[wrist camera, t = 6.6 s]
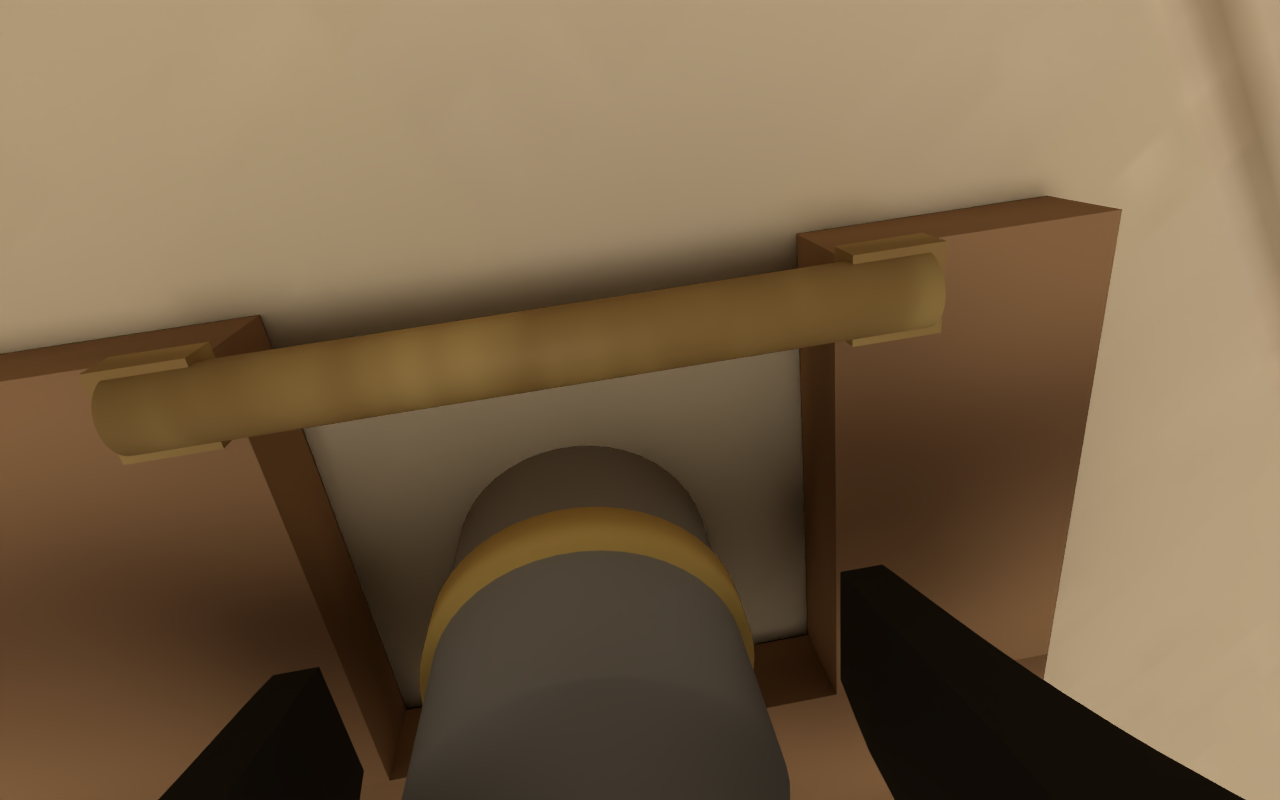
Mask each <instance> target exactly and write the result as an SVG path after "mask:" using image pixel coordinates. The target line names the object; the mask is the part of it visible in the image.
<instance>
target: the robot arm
mask: <svg viewBox="0 0 1280 800" xmlns="http://www.w3.org/2000/svg"><path fill="white" fill-rule="evenodd" d="M840 680H841V682H842V685H843V687H844V690H845V693H846V695H847V698H848V700H849V703H850V705H851V708H852V711H853V713H854V716H855V718H856V721H857V723H858V726H859V728H860V730H861V733H862V735H863V738H864V740H865V742H866V745H867V747H868V750H869V752H870V754H871V756H872V758H873V760H874V762H875V764H876V765H877V767H878V769H879V771H880V773H881V775H882V777H883V779H884V781H885V783H886V784H887V786H888V788H889V790H890V792H891V794H892V796H893V798H894V800H1245V799H1243V798H1241V797H1239V796H1238V795H1236V794H1234V793H1232V792H1230V791H1228V790H1227V789H1225V788H1223V787H1221V786H1219V785H1218V784H1216V783H1214V782H1212V781H1210V780H1209V779H1207V778H1205V777H1203V776H1201V775H1200V774H1198V773H1196V772H1194V771H1193V770H1191V769H1189V768H1187V767H1185V766H1184V765H1182V764H1180V763H1178V762H1176V761H1175V760H1173V759H1171V758H1169V757H1167V756H1166V755H1164V754H1162V753H1160V752H1158V751H1157V750H1155V749H1153V748H1152V747H1150V746H1148V745H1147V744H1145V743H1143V742H1142V741H1140V740H1138V739H1136V738H1135V737H1133V736H1131V735H1130V734H1128V733H1126V732H1125V731H1123V730H1121V729H1120V728H1118V727H1116V726H1115V725H1113V724H1112V723H1110V722H1109V721H1107V720H1105V719H1104V718H1102V717H1101V716H1099V715H1097V714H1096V713H1094V712H1093V711H1091V710H1089V709H1088V708H1086V707H1085V706H1083V705H1082V704H1080V703H1078V702H1077V701H1075V700H1074V699H1072V698H1070V697H1069V696H1067V695H1066V694H1064V693H1062V692H1061V691H1059V690H1058V689H1056V688H1055V687H1053V686H1052V685H1050V684H1049V683H1047V682H1046V681H1044V680H1043V679H1041V678H1040V677H1038V676H1037V675H1035V674H1034V673H1032V672H1031V671H1029V670H1028V669H1026V668H1025V667H1024V666H1022V665H1021V664H1019V663H1018V662H1016V661H1015V660H1013V659H1012V658H1011V657H1009V656H1008V655H1006V654H1005V653H1003V652H1002V651H1001V650H999V649H998V648H996V647H995V646H993V645H992V644H990V643H989V642H988V641H986V640H985V639H983V638H982V637H981V636H979V635H978V634H976V633H975V632H974V631H972V630H971V629H970V628H968V627H967V626H965V625H964V624H963V623H961V622H960V621H959V620H957V619H956V618H954V617H953V616H952V615H950V614H949V613H948V612H946V611H945V610H944V609H942V608H941V607H940V606H938V605H937V604H935V603H934V602H933V601H931V600H930V599H929V598H927V597H926V596H925V595H923V594H922V593H921V592H919V591H918V590H917V589H915V588H914V587H913V586H911V585H910V584H909V583H907V582H906V581H904V580H903V579H902V578H900V577H899V576H898V575H896V574H895V573H894V572H892V571H891V570H890V569H888V568H887V567H885V566H884V565H883V564H881V565H876V566H870V567H865V568H859V569H854V570H848V571H843V572H840ZM363 775H364V770H363V767H362V765H361V763H360V760H359V758H358V756H357V753H356V751H355V749H354V746H353V744H352V742H351V740H350V737H349V735H348V733H347V730H346V728H345V726H344V723H343V721H342V719H341V716H340V714H339V712H338V709H337V707H336V705H335V702H334V700H333V698H332V695H331V693H330V691H329V688H328V686H327V684H326V682H325V679H324V677H323V675H322V672H321V670H320V668H319V667H315V668H310V669H304V670H299V671H293V672H288V673H282V674H277V675H273V676H272V677H271V678H270V679H269V680H268V681H267V682H266V683H265V684H264V685H263V686H262V687H261V688H260V689H259V690H258V691H257V692H256V693H255V694H254V695H253V696H252V698H251V699H250V700H249V701H248V702H247V703H246V704H245V705H244V706H243V707H242V708H241V709H240V711H239V712H238V713H237V714H236V715H235V716H234V717H233V718H232V719H231V720H230V722H229V723H228V724H227V725H226V726H225V727H224V728H223V729H222V730H221V731H220V733H219V734H218V735H217V736H216V737H215V738H214V739H213V740H212V741H211V743H210V744H209V745H208V746H207V747H206V748H205V749H204V750H203V751H202V752H201V754H200V755H199V756H198V757H197V758H196V759H195V760H194V761H193V762H192V763H191V765H190V766H189V767H188V768H187V769H186V770H185V771H184V772H183V773H182V774H181V775H180V777H179V778H178V779H177V780H176V781H175V782H174V783H173V784H172V785H171V786H170V787H169V788H168V790H167V791H166V792H165V793H164V794H163V795H162V796H161V797H160V798H159V799H158V800H360V795H361V788H362V781H363Z"/></svg>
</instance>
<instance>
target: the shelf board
mask: <svg viewBox="0 0 1280 800" xmlns="http://www.w3.org/2000/svg"><path fill="white" fill-rule="evenodd" d="M1121 212H1122V210H1121V209H1116V208H1110V207H1105V206H1099V205H1094V204H1088V203H1083V202H1078V201H1072V200H1067V199H1061V198H1056V197H1050V196H1044V197H1038V198H1031V199H1024V200H1018V201H1011V202H1004V203H998V204H991V205H985V206H978V207H971V208H965V209H958V210H952V211H945V212H938V213H932V214H925V215H918V216H912V217H905V218H899V219H892V220H885V221H879V222H872V223H866V224H859V225H852V226H846V227H839V228H832V229H826V230H819V231H813V232H806V233H799V234H797V261H798V268H797V269H790V270H784V271H777V272H771V273H764V274H758V275H751V276H745V277H738V278H732V279H725V280H719V281H712V282H706V283H699V284H693V285H686V286H680V287H674V288H667V289H661V290H654V291H648V292H641V293H635V294H628V295H622V296H615V297H609V298H602V299H596V300H589V301H583V302H576V303H570V304H563V305H557V306H550V307H544V308H537V309H531V310H524V311H518V312H511V313H505V314H498V315H492V316H486V317H479V318H473V319H466V320H460V321H453V322H447V323H440V324H434V325H427V326H421V327H414V328H408V329H401V330H395V331H388V332H382V333H375V334H369V335H362V336H356V337H349V338H343V339H336V340H330V341H323V342H317V343H310V344H304V345H298V346H291V347H285V348H278V349H272V348H271V345H270V342H269V339H268V337H267V334H266V331H265V329H264V326H263V323H262V321H261V318H260V315H257V316H250V317H244V318H237V319H231V320H224V321H217V322H211V323H204V324H197V325H191V326H184V327H178V328H171V329H164V330H158V331H151V332H145V333H138V334H131V335H125V336H118V337H111V338H105V339H98V340H92V341H85V342H78V343H72V344H65V345H59V346H52V347H45V348H39V349H32V350H26V351H19V352H12V353H6V354H0V800H158V799H159V798H160V797H161V796H162V795H163V794H164V793H165V792H166V791H167V790H168V788H169V787H170V786H171V785H172V784H173V783H174V782H175V781H176V780H177V779H178V778H179V777H180V775H181V774H182V773H183V772H184V771H185V770H186V769H187V768H188V767H189V766H190V765H191V763H192V762H193V761H194V760H195V759H196V758H197V757H198V756H199V755H200V754H201V752H202V751H203V750H204V749H205V748H206V747H207V746H208V745H209V744H210V743H211V741H212V740H213V739H214V738H215V737H216V736H217V735H218V734H219V733H220V731H221V730H222V729H223V728H224V727H225V726H226V725H227V724H228V723H229V722H230V720H231V719H232V718H233V717H234V716H235V715H236V714H237V713H238V712H239V711H240V709H241V708H242V707H243V706H244V705H245V704H246V703H247V702H248V701H249V700H250V699H251V698H252V696H253V695H254V694H255V693H256V692H257V691H258V690H259V689H260V688H261V687H262V686H263V685H264V684H265V683H266V682H267V681H268V680H269V679H270V678H271V677H272V676H273V675H277V674H282V673H288V672H293V671H299V670H304V669H310V668H315V667H319V668H320V670H321V672H322V675H323V677H324V679H325V682H326V684H327V686H328V688H329V691H330V693H331V695H332V698H333V700H334V702H335V705H336V707H337V709H338V712H339V714H340V716H341V719H342V721H343V723H344V726H345V728H346V730H347V733H348V735H349V737H350V740H351V742H352V744H353V746H354V749H355V751H356V753H357V756H358V758H359V760H360V763H361V765H362V767H363V770H364V775H363V781H362V788H361V795H360V800H402V795H403V791H404V787H405V782H406V778H407V773H408V769H409V764H410V760H411V755H412V751H413V746H414V742H415V737H416V733H417V728H418V724H419V719H420V715H421V710H422V707H420V708H415V709H409V710H406V707H405V705H404V702H403V699H402V697H401V694H400V691H399V689H398V686H397V683H396V681H395V678H394V675H393V672H392V670H391V667H390V664H389V662H388V659H387V656H386V654H385V651H384V648H383V646H382V643H381V640H380V638H379V635H378V632H377V629H376V627H375V624H374V621H373V619H372V616H371V613H370V611H369V608H368V605H367V603H366V600H365V597H364V595H363V592H362V589H361V587H360V584H359V581H358V578H357V576H356V573H355V570H354V568H353V565H352V562H351V560H350V557H349V554H348V552H347V549H346V546H345V544H344V541H343V538H342V535H341V533H340V530H339V527H338V525H337V522H336V519H335V517H334V514H333V511H332V509H331V506H330V503H329V501H328V498H327V495H326V493H325V490H324V487H323V484H322V482H321V479H320V476H319V474H318V471H317V468H316V466H315V463H314V460H313V458H312V455H311V452H310V450H309V447H308V444H307V442H306V439H305V436H304V433H303V431H302V428H308V427H315V426H321V425H327V424H333V423H339V422H346V421H352V420H358V419H364V418H370V417H377V416H383V415H389V414H395V413H401V412H408V411H414V410H420V409H426V408H432V407H439V406H445V405H451V404H457V403H463V402H470V401H476V400H482V399H488V398H494V397H501V396H507V395H513V394H519V393H525V392H532V391H538V390H544V389H550V388H556V387H563V386H569V385H575V384H581V383H587V382H594V381H600V380H606V379H612V378H618V377H625V376H631V375H637V374H643V373H649V372H655V371H662V370H668V369H674V368H680V367H686V366H693V365H699V364H705V363H711V362H717V361H724V360H730V359H736V358H742V357H748V356H755V355H761V354H767V353H773V352H779V351H786V350H792V349H798V348H800V368H801V404H802V440H803V476H804V512H805V548H806V584H807V620H808V635H805V636H800V637H795V638H789V639H784V640H779V641H773V642H768V643H762V644H757V645H754V668H753V671H754V673H755V676H756V679H757V682H758V685H759V688H760V691H761V694H762V696H763V699H764V702H765V705H766V708H767V711H768V714H769V717H770V719H771V722H772V725H773V728H774V731H775V734H776V737H777V740H778V743H779V745H780V748H781V751H782V754H783V757H784V760H785V763H786V766H787V770H788V775H789V779H790V800H894V798H893V796H892V794H891V792H890V790H889V788H888V786H887V784H886V783H885V781H884V779H883V777H882V775H881V773H880V771H879V769H878V767H877V765H876V764H875V762H874V760H873V758H872V756H871V754H870V752H869V750H868V747H867V745H866V742H865V740H864V738H863V735H862V733H861V730H860V728H859V726H858V723H857V721H856V718H855V716H854V713H853V711H852V708H851V705H850V703H849V700H848V698H847V695H846V693H845V690H844V687H843V685H842V682H841V680H840V572H843V571H848V570H854V569H859V568H865V567H870V566H876V565H881V564H883V565H884V566H885V567H887V568H888V569H890V570H891V571H892V572H894V573H895V574H896V575H898V576H899V577H900V578H902V579H903V580H904V581H906V582H907V583H909V584H910V585H911V586H913V587H914V588H915V589H917V590H918V591H919V592H921V593H922V594H923V595H925V596H926V597H927V598H929V599H930V600H931V601H933V602H934V603H935V604H937V605H938V606H940V607H941V608H942V609H944V610H945V611H946V612H948V613H949V614H950V615H952V616H953V617H954V618H956V619H957V620H959V621H960V622H961V623H963V624H964V625H965V626H967V627H968V628H970V629H971V630H972V631H974V632H975V633H976V634H978V635H979V636H981V637H982V638H983V639H985V640H986V641H988V642H989V643H990V644H992V645H993V646H995V647H996V648H998V649H999V650H1001V651H1002V652H1003V653H1005V654H1006V655H1008V656H1009V657H1011V658H1012V659H1013V660H1015V661H1016V662H1018V663H1019V664H1021V665H1022V666H1024V667H1025V668H1026V669H1028V670H1029V671H1031V672H1032V673H1034V674H1035V675H1037V676H1038V677H1040V678H1041V679H1044V673H1045V667H1046V661H1047V655H1048V649H1049V643H1050V637H1051V631H1052V625H1053V619H1054V613H1055V607H1056V601H1057V595H1058V589H1059V583H1060V577H1061V571H1062V565H1063V559H1064V553H1065V547H1066V541H1067V535H1068V529H1069V523H1070V517H1071V511H1072V505H1073V499H1074V493H1075V487H1076V481H1077V476H1078V470H1079V464H1080V458H1081V452H1082V446H1083V440H1084V434H1085V428H1086V422H1087V416H1088V410H1089V404H1090V398H1091V392H1092V386H1093V380H1094V374H1095V368H1096V362H1097V356H1098V350H1099V344H1100V338H1101V332H1102V326H1103V320H1104V314H1105V308H1106V302H1107V296H1108V290H1109V284H1110V278H1111V272H1112V266H1113V260H1114V254H1115V248H1116V242H1117V236H1118V230H1119V224H1120V218H1121Z"/></svg>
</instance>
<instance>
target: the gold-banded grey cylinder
mask: <svg viewBox="0 0 1280 800" xmlns="http://www.w3.org/2000/svg"><path fill="white" fill-rule="evenodd" d="M753 668H754V643H753V639H752V634H751V630H750V627H749V624H748V621H747V618H746V616H745V613H744V610H743V608H742V605H741V602H740V599H739V597H738V594H737V591H736V589H735V586H734V584H733V582H732V579H731V577H730V575H729V573H728V572H727V570H726V568H725V567H724V565H723V564H722V562H721V561H720V560H719V559H718V557H717V556H716V555H715V554H714V553H713V552H712V550H711V547H710V544H709V541H708V538H707V535H706V532H705V530H704V527H703V524H702V521H701V518H700V515H699V513H698V511H697V508H696V506H695V504H694V502H693V500H692V499H691V497H690V496H689V494H688V492H687V491H686V490H685V489H684V488H683V486H682V485H681V484H680V483H679V482H678V481H677V480H676V479H675V478H674V477H673V476H672V475H670V474H669V473H668V472H667V471H666V470H664V469H663V468H661V467H660V466H658V465H657V464H655V463H653V462H651V461H649V460H647V459H645V458H643V457H641V456H638V455H635V454H632V453H629V452H626V451H623V450H618V449H613V448H608V447H596V446H578V447H568V448H561V449H556V450H552V451H548V452H544V453H541V454H538V455H536V456H533V457H531V458H528V459H526V460H523V461H522V462H520V463H518V464H516V465H514V466H513V467H511V468H509V469H508V470H506V471H505V472H504V473H502V474H501V475H500V476H498V477H497V478H496V479H495V480H494V481H492V482H491V483H490V484H489V485H488V486H487V487H486V488H485V489H484V490H483V492H482V493H481V494H480V495H479V497H478V498H477V499H476V500H475V502H474V504H473V505H472V507H471V509H470V511H469V512H468V514H467V517H466V519H465V522H464V524H463V527H462V531H461V535H460V540H459V544H458V549H457V553H456V558H455V562H454V567H453V571H452V573H451V574H450V576H449V577H448V579H447V581H446V582H445V584H444V586H443V587H442V589H441V591H440V593H439V595H438V598H437V600H436V603H435V605H434V608H433V612H432V616H431V620H430V624H429V628H428V632H427V636H426V640H425V644H424V649H423V653H422V658H421V662H420V671H419V687H420V694H421V700H422V703H423V706H422V710H421V715H420V719H419V724H418V728H417V733H416V737H415V742H414V746H413V751H412V755H411V760H410V764H409V769H408V773H407V778H406V782H405V787H404V791H403V795H402V800H790V779H789V775H788V770H787V766H786V763H785V760H784V757H783V754H782V751H781V748H780V745H779V743H778V740H777V737H776V734H775V731H774V728H773V725H772V722H771V719H770V717H769V714H768V711H767V708H766V705H765V702H764V699H763V696H762V694H761V691H760V688H759V685H758V682H757V679H756V676H755V673H754V671H753Z"/></svg>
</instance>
